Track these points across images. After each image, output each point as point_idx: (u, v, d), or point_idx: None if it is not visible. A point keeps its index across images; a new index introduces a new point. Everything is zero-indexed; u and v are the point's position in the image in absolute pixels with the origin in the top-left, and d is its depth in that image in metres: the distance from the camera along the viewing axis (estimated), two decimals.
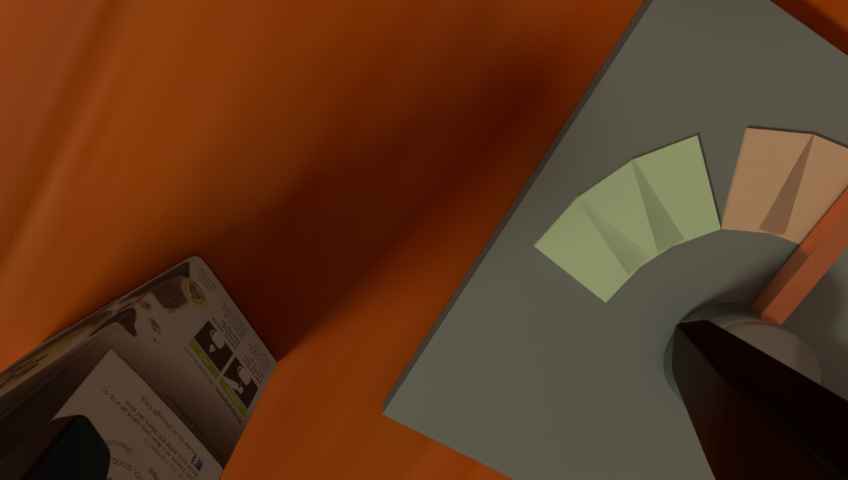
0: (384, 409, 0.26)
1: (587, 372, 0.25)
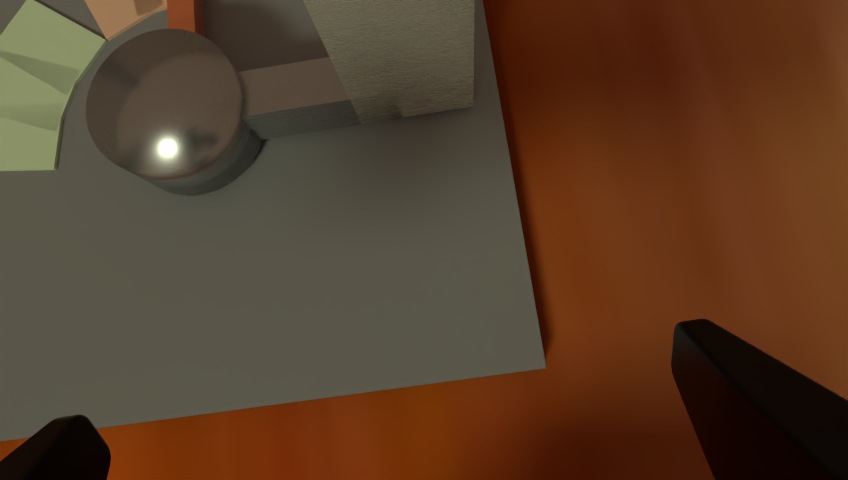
0: None
1: (91, 245, 0.21)
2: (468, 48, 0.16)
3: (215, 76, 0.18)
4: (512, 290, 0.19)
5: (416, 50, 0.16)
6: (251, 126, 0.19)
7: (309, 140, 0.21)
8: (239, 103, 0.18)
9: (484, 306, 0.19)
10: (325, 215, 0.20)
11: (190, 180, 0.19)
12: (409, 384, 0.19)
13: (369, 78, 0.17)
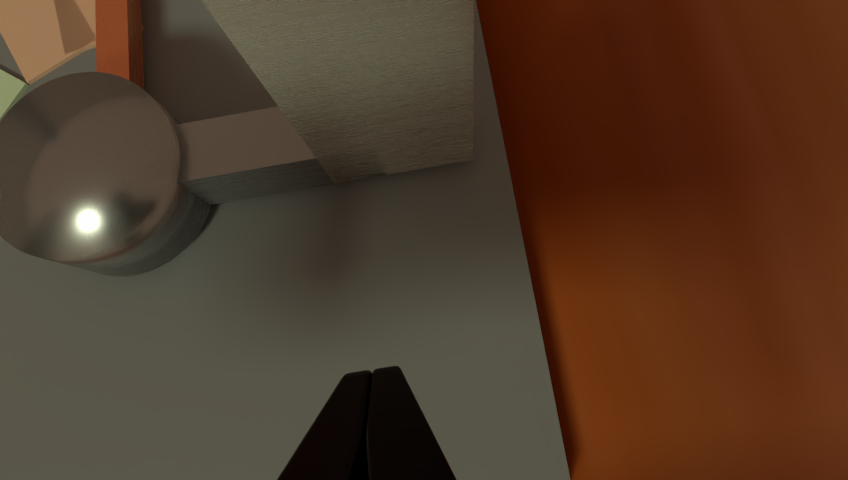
0: None
1: (0, 340, 0.17)
2: (466, 95, 0.12)
3: (144, 131, 0.14)
4: (528, 395, 0.15)
5: (397, 100, 0.12)
6: (195, 191, 0.16)
7: (271, 203, 0.17)
8: (175, 165, 0.14)
9: (492, 416, 0.15)
10: (290, 298, 0.16)
11: (114, 262, 0.15)
12: None
13: (338, 134, 0.13)
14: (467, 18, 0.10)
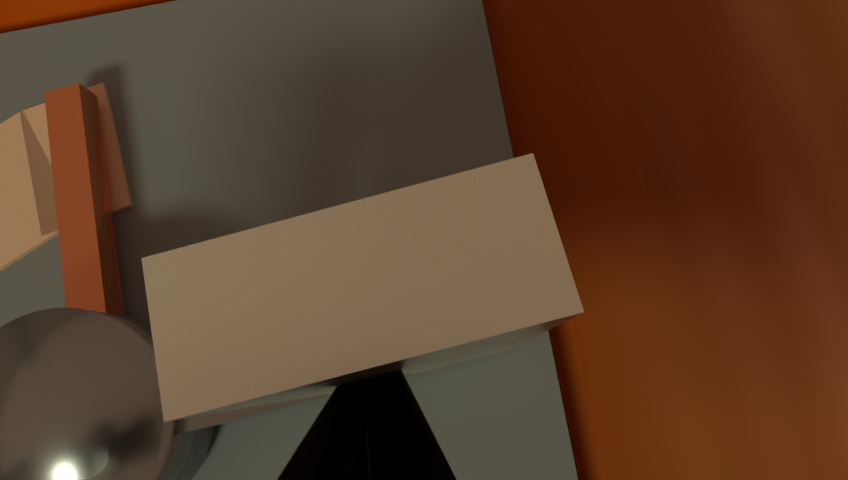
0: None
1: None
2: (520, 342, 0.10)
3: (128, 382, 0.12)
4: None
5: (439, 362, 0.10)
6: None
7: (281, 431, 0.14)
8: None
9: None
10: None
11: None
12: None
13: None
14: (541, 330, 0.07)
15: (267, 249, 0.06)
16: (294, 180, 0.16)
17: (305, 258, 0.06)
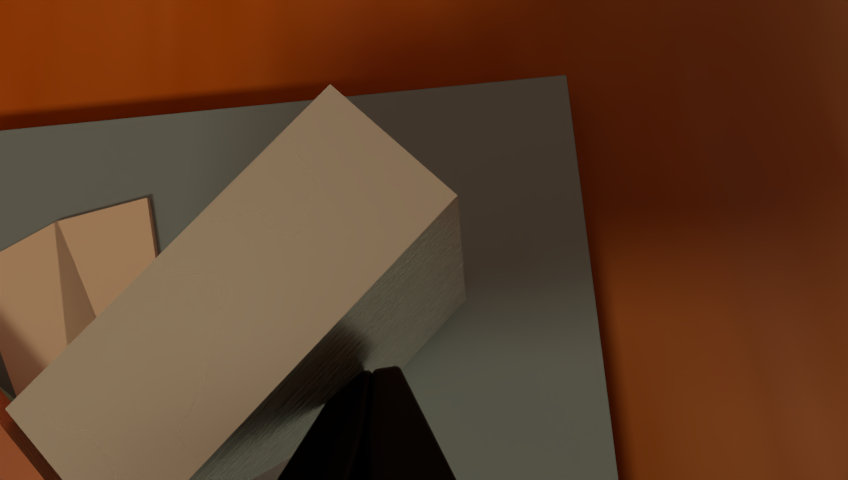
0: None
1: None
2: (457, 283, 0.10)
3: None
4: None
5: (396, 345, 0.09)
6: None
7: None
8: None
9: None
10: None
11: None
12: None
13: None
14: (455, 251, 0.07)
15: (129, 321, 0.05)
16: None
17: (172, 306, 0.05)
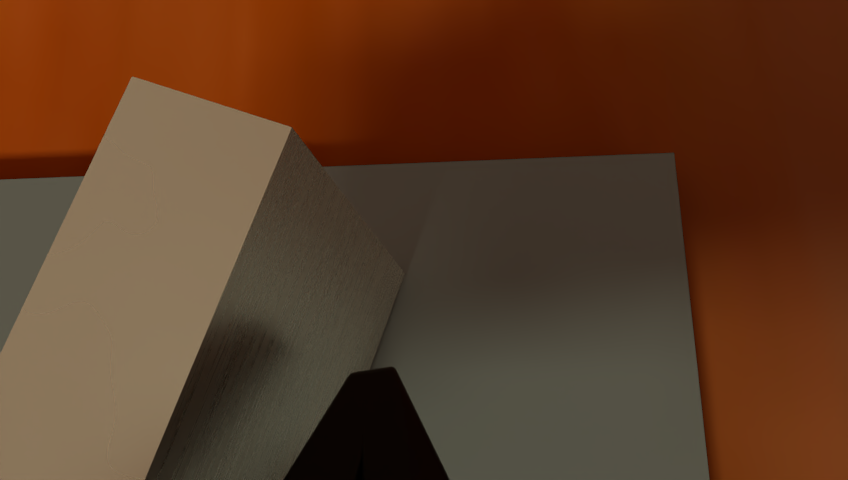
0: None
1: None
2: (376, 249, 0.10)
3: None
4: None
5: (341, 330, 0.09)
6: None
7: None
8: None
9: None
10: None
11: None
12: None
13: None
14: (343, 206, 0.07)
15: (19, 378, 0.05)
16: (438, 422, 0.13)
17: (56, 345, 0.05)
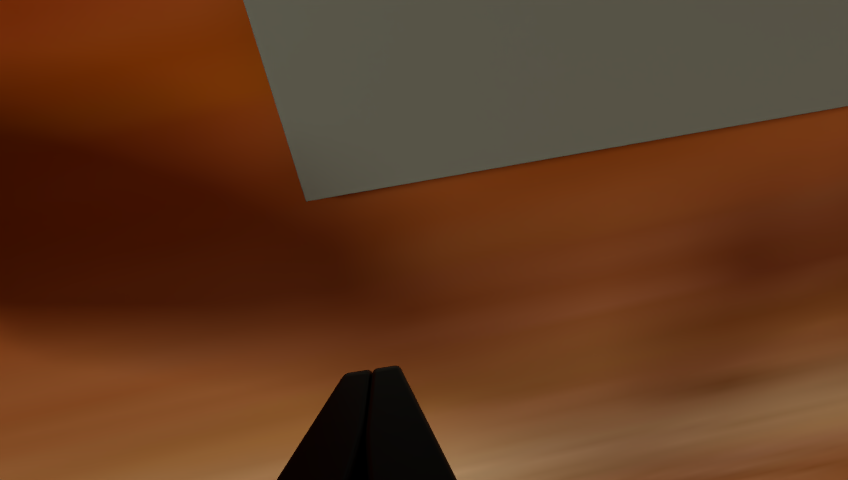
0: None
1: None
2: None
3: None
4: (379, 170, 0.19)
5: None
6: None
7: None
8: None
9: (360, 143, 0.18)
10: None
11: None
12: (266, 68, 0.17)
13: None
14: None
15: None
16: None
17: None
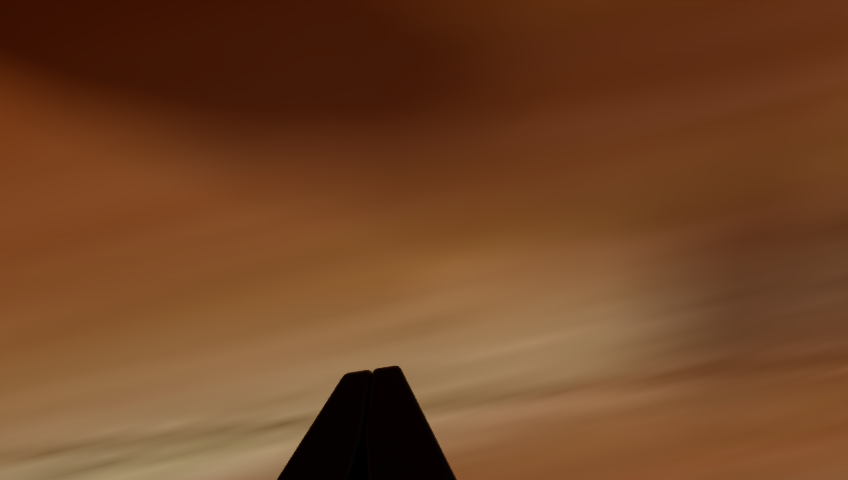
0: None
1: None
2: None
3: None
4: None
5: None
6: None
7: None
8: None
9: None
10: None
11: None
12: None
13: None
14: None
15: None
16: None
17: None
